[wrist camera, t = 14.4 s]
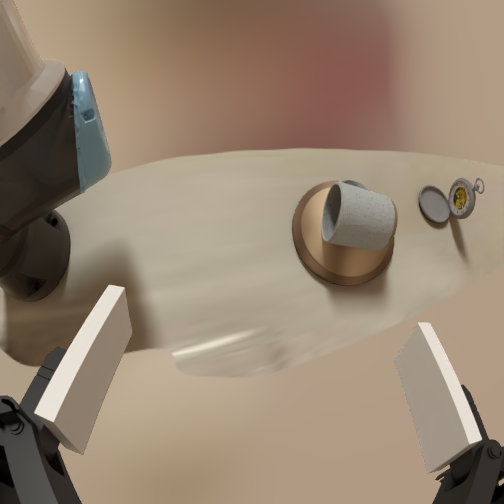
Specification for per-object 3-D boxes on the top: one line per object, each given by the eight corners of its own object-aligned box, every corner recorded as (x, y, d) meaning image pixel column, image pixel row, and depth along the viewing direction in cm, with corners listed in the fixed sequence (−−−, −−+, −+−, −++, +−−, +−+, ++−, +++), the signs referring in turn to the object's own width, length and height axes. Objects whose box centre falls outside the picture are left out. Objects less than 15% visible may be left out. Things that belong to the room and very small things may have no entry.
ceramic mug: (376, 258, 37) (404, 240, 30) (319, 250, 37) (338, 229, 30) (373, 190, 41) (396, 163, 33) (321, 179, 40) (337, 148, 33)
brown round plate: (285, 276, 37) (287, 274, 36) (297, 175, 42) (299, 170, 40) (389, 292, 38) (393, 290, 36) (390, 196, 42) (393, 192, 41)
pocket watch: (410, 196, 42) (443, 165, 32) (437, 179, 44) (468, 150, 34) (437, 238, 40) (476, 216, 31) (461, 217, 42) (497, 195, 32)
